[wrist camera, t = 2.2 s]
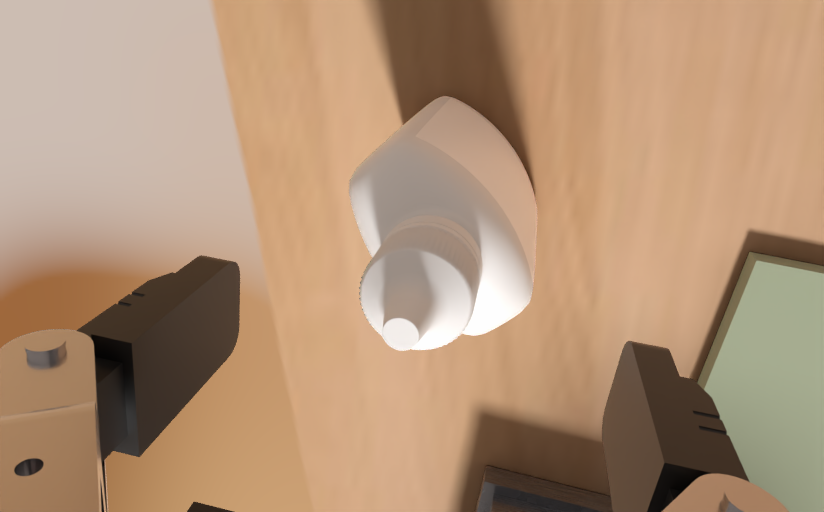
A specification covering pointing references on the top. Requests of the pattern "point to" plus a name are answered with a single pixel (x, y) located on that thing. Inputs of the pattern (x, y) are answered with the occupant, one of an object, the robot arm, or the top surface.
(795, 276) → the rubber mat
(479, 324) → the eye dropper bottle
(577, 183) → the top surface
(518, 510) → the socket block
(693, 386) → the robot arm
